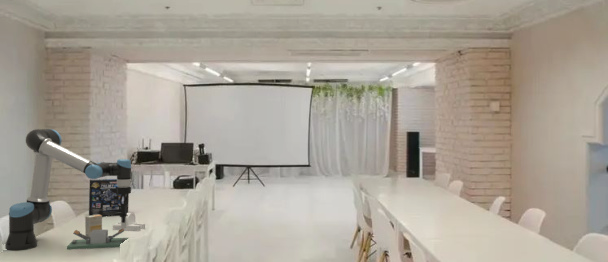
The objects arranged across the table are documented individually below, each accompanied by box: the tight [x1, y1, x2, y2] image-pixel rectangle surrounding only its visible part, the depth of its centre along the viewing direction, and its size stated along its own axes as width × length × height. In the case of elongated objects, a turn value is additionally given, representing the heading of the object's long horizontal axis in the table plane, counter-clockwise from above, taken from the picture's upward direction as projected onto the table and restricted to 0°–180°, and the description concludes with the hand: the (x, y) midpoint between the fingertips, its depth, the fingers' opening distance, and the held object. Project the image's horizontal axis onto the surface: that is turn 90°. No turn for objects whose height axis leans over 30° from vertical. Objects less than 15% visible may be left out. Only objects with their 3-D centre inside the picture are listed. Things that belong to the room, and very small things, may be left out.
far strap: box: [108, 229, 125, 239], centre depth 280 cm, size 10×5×2 cm, turn 103°
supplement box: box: [84, 214, 103, 237], centre depth 295 cm, size 8×5×13 cm, turn 141°
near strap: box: [73, 229, 90, 240], centre depth 276 cm, size 10×5×2 cm
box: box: [88, 178, 130, 218], centre depth 363 cm, size 27×7×27 cm, turn 115°
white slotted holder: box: [112, 212, 146, 232], centre depth 319 cm, size 10×18×11 cm, turn 80°
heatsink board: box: [66, 229, 129, 250], centre depth 278 cm, size 30×16×8 cm, turn 104°
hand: (123, 227), depth 281 cm, fingers closed
